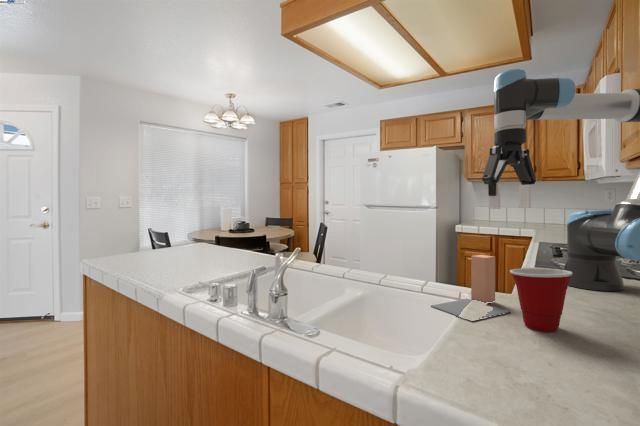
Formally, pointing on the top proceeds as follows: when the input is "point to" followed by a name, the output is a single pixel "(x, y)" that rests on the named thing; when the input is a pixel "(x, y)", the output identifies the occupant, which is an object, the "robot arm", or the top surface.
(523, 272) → the plastic cup
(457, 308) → the slate mat
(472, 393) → the top surface
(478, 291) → the terracotta block
